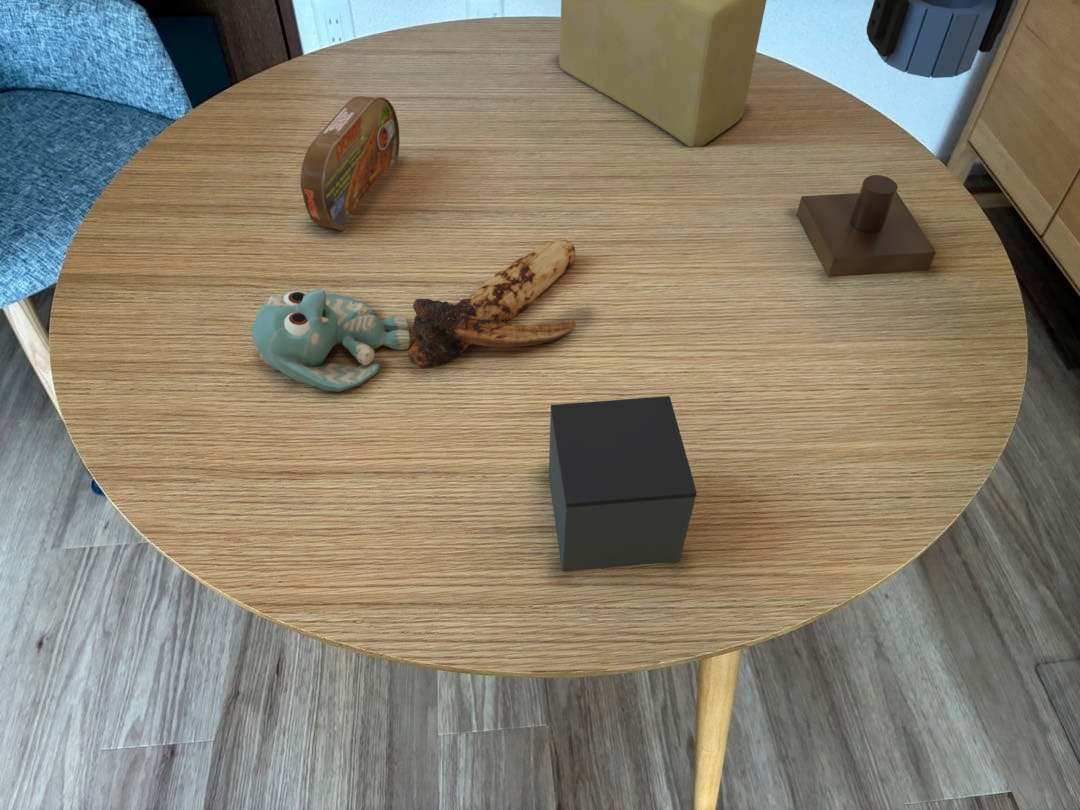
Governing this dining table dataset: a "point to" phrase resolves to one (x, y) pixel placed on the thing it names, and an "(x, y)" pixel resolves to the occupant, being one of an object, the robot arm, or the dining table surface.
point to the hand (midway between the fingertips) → (928, 43)
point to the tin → (349, 159)
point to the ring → (940, 37)
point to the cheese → (666, 58)
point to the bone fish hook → (492, 310)
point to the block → (619, 483)
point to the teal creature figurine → (323, 337)
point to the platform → (865, 231)
